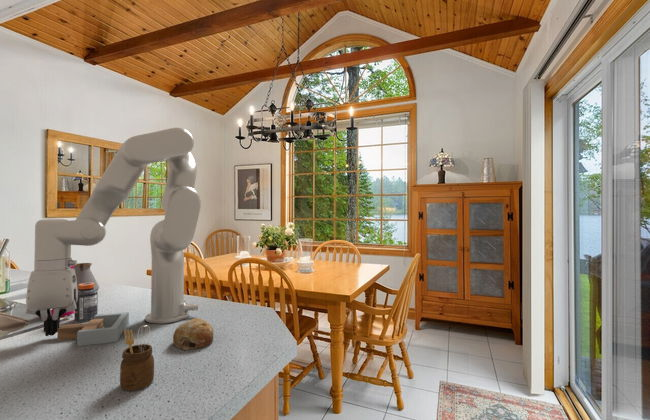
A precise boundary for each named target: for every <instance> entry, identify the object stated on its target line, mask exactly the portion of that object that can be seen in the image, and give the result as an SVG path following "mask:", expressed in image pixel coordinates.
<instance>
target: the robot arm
mask: <svg viewBox="0 0 650 420" xmlns="http://www.w3.org/2000/svg"><path fill="white" fill-rule="evenodd" d="M194 144H195V141H194V137H193V135H192V133H191V132H190V131H189V130H187V129H185V128H183V127H171V128H167V129H163V130H159V131H153V132H148V133H143V134H139V135H133V136H131V137H129V138H128V139H126V140H125V141H124V142H123V143H122V144H121V145H120V146H119V148H118V150H117V151H116V153H115V154H114V156H113V157H112V160H111V161H110V163H109V164H108V166H107V168H106V169H105V171H104V172H103V174H102V175H101V177H100V179H99V180H98V182H97V183H96V185H95V187H94V189H93V191H92V193H91V194H90V196H89V197H88V199H87V201H86V202H85V204H84V205H83V207H82V209H81V211H80V212H79V213H78V216H77V217H76V219H75V220H74V219H73V220H69V219H64V218H61V219H60V218H45V219H44V218H43V219H39V220H37V221H36V222H35V225H34V228H35V229H34V259H33V260H34V262H33V263H34V265H33V269H34V270H33V271H31V272H30V275H29V278H28V282H27V283H28V284H27V288H26V295H25V296H26V299H25V306H26V312H25V313H26V314H28V315H33V316H35V315H36V316H37V317H39V318H40V319H41V321H42V322H43V333H44V334H45V335H44V336H45V337H49V336H54V335H56V334H57V332H58V328H59V327H61V322H60V321H61V318H62V317H61V316H62V315H63V314H64V313H66V312H70V311H73V310H75V309H76V308H77V306H76V303H75V302H77V300H78V289H77V280H76V274H75V270H74V269H71V267H72V266H73V265H77V264H78V261H77V260H74V259H72V246H83V247H84V246H86V247H87V246H89V247H90V246H95V245H98V244H99V243H101V242H102V241H103V240H104V239H105V237H106V234H107V232H106V231H107V229H106V226H107V224H108V222H109V220H110V218H111V217H112V215H113V214H114V212H115V211H116V209H118V207H119V206H120V205H121V204H122V203H123V202H124V201H125V200H126V199H127V198H128V197H129V196H130V194H131V193H132V192H133V189H134V188H135V186H136V184H137V182H138V181H139V179H140V177H141V175H142V174H143V172H144V171H145V169H146V167H147V165H150V164H154V163H157V162H158V163H159V162H161V161H166V162H167V164H168V173H167V174H168V175H167V180H166V183H165V186H164V191H163V192H162V193H163V194H162V196H161V201H160V203H161V208H162V210H163V211H164V212H165V215H164V219H161V220H160V221H158V222H157V223H155V224H154V226H153V227H152V229H151V231H150V235H149V237H150V238H149V243H150V251H151V253H150V254H151V274H150V275H151V285H150V286H151V287H150V293H151V294H150V298H151V299H150V312H149V313H147V314H146V315H145V316H144V318H145V322H147V323H149V324H170V323H175V322H178V321H181V320H184V319H186V318H187V317H188V316H189V314H190V313H189V312H190V311H199V304H198V303H197V304H196V303H194V302H193V303H186V299H184V298H185V296H184V295H185V294H184V293H185V290H184V289H185V288H184V287H185V255H184V253H185V252H184V250H186V249H187V248H189V246H190V245H191V243H192V242H193V239H194V237H195V233H196V229H197V225H198V221H199V217H200V213H201V208H202V207H201V206H202V204H201V203H202V202H201V201H202V200H201V197H200V194H199V193H198V191H197V190H195V185H196V180H197V175H198V173H197V172H198V170H197V169H198V168H197V164H196V161H195V159H194V156H193V154H192V153H191V152H192V151H193V148H194ZM52 309H54V312H53V317H52V315H51V310H52Z"/></svg>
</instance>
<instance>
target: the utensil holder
mask: <svg viewBox="0 0 650 420" xmlns="http://www.w3.org/2000/svg"><path fill="white" fill-rule="evenodd" d="M142 328H146V331H148V329H149V334H148V337H147V333H145V336H144V338H145V339H147V338H148V339H147V341H144V342H143V343H144V344H143V343H142V342H140V341H139V340H137V341H136V342H137V344H135V339H134V334H133V329H127V330H126V329H124V331H123V333H124V340H125V345H128V347H127V348H125V349H124V350H123V352H122V356H121V357H122V359H121V362H120V367H119V368H120V370H119V385H120V386H119V387H120V388H121V390H123V391H125V390H126V391H125V392H133V391H134V392H135V391H139V390H142V389H145V388H147V387H149V386H150V385H151V384H152V383H153V381H154V378H155V358H154V355H153V347H152V345H150V344H148V343H149V341H150V338H151V329H150V328H151V327H150V326H149V325H141V326H140V327H139V328H138V331H137V335H136V336H137V337H136V339H142V335H140V338H139V334H140V332H141V334H143V332H144V330H143V329H142ZM140 329H141V330H140ZM146 342H147V343H146ZM134 344H135V345H134Z"/></svg>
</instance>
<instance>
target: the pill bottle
mask: <svg viewBox="0 0 650 420" xmlns="http://www.w3.org/2000/svg"><path fill="white" fill-rule="evenodd" d="M78 289H79V290H78V300H77V302H75V303H76V306H77V308H76V309H75V310H74V313H73V314H74V317H73V319H74V322H75V323H76V322H78V323H85V322H86V323H87V322H89V321H90V320H92V319H94V317H95V315H98V310H99V309H98V303H99V302H98V301H99V300H98V299H99V298H98V297H99V296H98V293H99V292H98V291H97V290H96V289H94V283H82V284H79V287H78Z"/></svg>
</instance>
